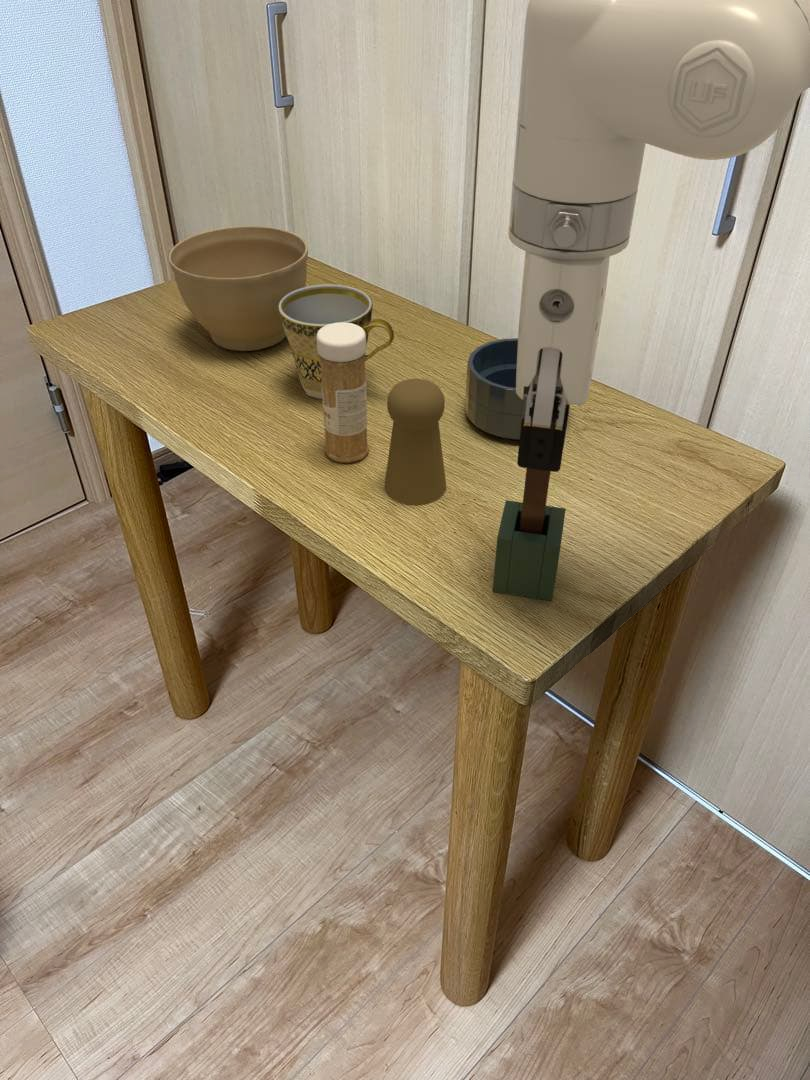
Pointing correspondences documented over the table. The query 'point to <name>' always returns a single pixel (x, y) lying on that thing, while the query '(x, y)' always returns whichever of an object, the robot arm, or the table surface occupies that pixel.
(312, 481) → the table surface
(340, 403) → the sprinkles bottle
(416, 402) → the brown peg doll
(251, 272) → the planter bowl
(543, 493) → the stirring stick
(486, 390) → the mixing bowl
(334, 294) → the ceramic cup
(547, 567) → the stick holder
